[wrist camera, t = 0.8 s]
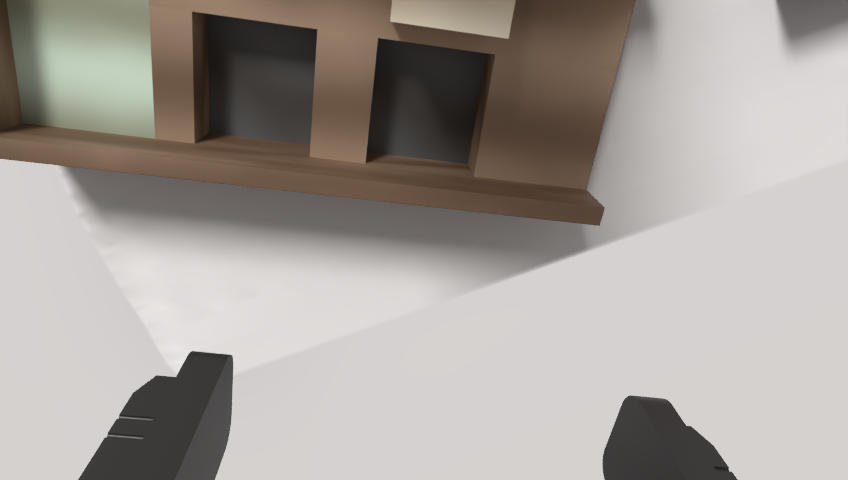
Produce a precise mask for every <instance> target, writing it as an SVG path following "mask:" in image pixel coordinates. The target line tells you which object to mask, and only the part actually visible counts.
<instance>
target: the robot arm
mask: <svg viewBox="0 0 848 480" xmlns="http://www.w3.org/2000/svg"><path fill="white" fill-rule="evenodd" d="M232 380H233V357H232V355H226V354H216V353H205V352H195V351H192V352H190V353H189V355H188V356H187V358H186V360H185V362H184V364H183V366H182V367H181V369H180V371H179V373H178V375H177V377H167V376H155V377H154V378H153V379H151V380H150V381H149V382H147V383H146V384H145V385H143V386H142V387H141V388H139V389H138V390H137V391H136V392H134V393H133V394H132V396H131V397H130V399H129V401H128V402H127V404H126V405H125V407H124V409H123V410H122V412H121V413H120V415H119V419H117V420H116V421H115V423H114V424H113V426H112V427H111V429H110V431H109V432H108V436H107V438H104V440H103V442H102V443H101V445H100V446H99V448H98V450H97V451H96V453H95V454H94V456H93V457H92V459H91V461H90V462H89V464H88V465H87V467H86V468H85V470H84V472H83V473H82V475H81V476H80V478H79V480H215V477H216V474H217V472H218V469H219V466H220V463H221V460H222V458H223V455H224V452H225V449H226V445H227V441H228V437H229V431H230V425H231V413H232V412H231V411H232V382H233V381H232ZM728 468H729V467H728V466H727V464H726V463H725V462H724V460H723V459H722V457H721V456H720V455H719V453H718V452H717V450H716V449H715V447H714V446H713V445H712V444H711V443H709V442H708V441H707V440H706V439H705V438H704V437H702V436H701V435H700V434H699V433H698V432H697V431H696V430H694V429H693V428H692V427H691V426H686V425H685V424H684V422H683V421H682V419H681V418H680V416H679V415H678V413H677V412H676V410H675V409H674V407H673V406H672V404H671V403H670V402H669V401H668V400H666V399H660V398H650V397H640V396H628V397H627V398H626V399H625V400H624V401H623V403H622V406H621V408H620V411H619V414H618V416H617V419H616V422H615V424H614V427H613V429H612V432H611V435H610V437H609V440H608V443H607V445H606V448H605V451H604V455H603V473H604V478H605V480H737V479H736V477H735V476H734V474H733V473H732V472H729V470H728Z"/></svg>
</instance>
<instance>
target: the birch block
mask: <svg viewBox="0 0 848 480" xmlns="http://www.w3.org/2000/svg"><path fill="white" fill-rule="evenodd" d="M515 1H516V0H392V6H391V16H390V22H396V23H403V24H410V25H417V26H424V27H431V28H438V29H445V30H451V31H458V32H465V33H472V34H479V35H486V36H493V37H500V38H506V39H509V33H510V28H511V23H512V17H513V12H514V6H515Z"/></svg>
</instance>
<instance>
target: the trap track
mask: <svg viewBox="0 0 848 480" xmlns="http://www.w3.org/2000/svg"><path fill="white" fill-rule="evenodd" d="M634 3H635V0H516V1H515V6H514V12H513V17H512V23H511V28H510V33H509V39H506V38H500V37H493V36H486V35H479V34H472V33H465V32H458V31H451V30H445V29H438V28H431V27H424V26H417V25H410V24H403V23H396V22H390V16H391V6H392V0H0V159H9V160H18V161H26V162H35V163H44V164H53V165H62V166H71V167H80V168H89V169H98V170H107V171H115V172H124V173H133V174H142V175H151V176H160V177H169V178H178V179H187V180H196V181H205V182H214V183H223V184H232V185H241V186H250V187H259V188H268V189H276V190H285V191H294V192H303V193H312V194H321V195H330V196H339V197H348V198H357V199H366V200H375V201H384V202H393V203H402V204H411V205H420V206H429V207H437V208H446V209H455V210H464V211H473V212H482V213H491V214H500V215H509V216H518V217H527V218H536V219H545V220H554V221H563V222H572V223H581V224H589V225H598V226H600V222H601V219H602V215H603V212H604V207H603V206H602V205H601V204H600V203H599V202H598V201H597V200H596V199H595V198H594V197H593V196H592V195H591V194H590V193H589V192H588V191H587V190H586V188H587V184H588V180H589V176H590V172H591V169H592V165H593V161H594V157H595V153H596V149H597V146H598V142H599V138H600V134H601V130H602V126H603V123H604V119H605V115H606V111H607V107H608V103H609V99H610V96H611V92H612V88H613V84H614V80H615V76H616V73H617V69H618V65H619V61H620V57H621V53H622V50H623V46H624V42H625V38H626V34H627V30H628V27H629V23H630V19H631V15H632V11H633V7H634Z"/></svg>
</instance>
